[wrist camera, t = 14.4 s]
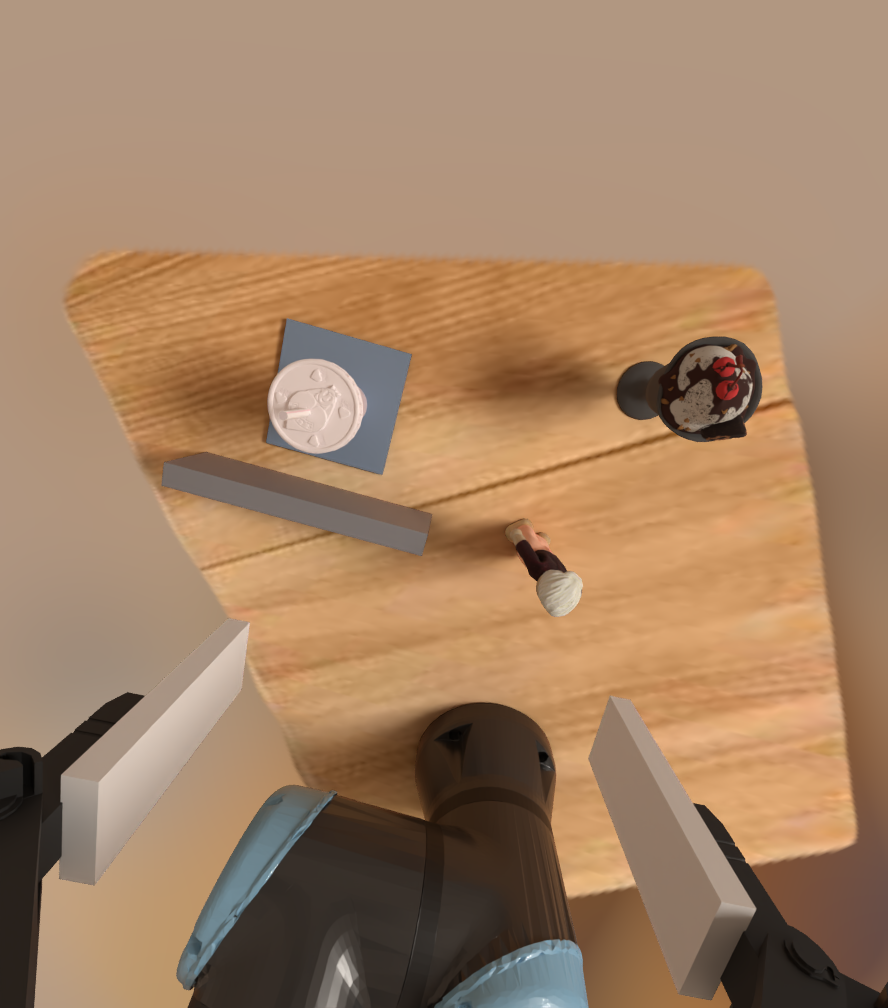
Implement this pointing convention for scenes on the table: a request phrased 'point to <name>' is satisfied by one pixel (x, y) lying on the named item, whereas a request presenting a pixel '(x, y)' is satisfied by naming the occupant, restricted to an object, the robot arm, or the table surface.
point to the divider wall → (299, 500)
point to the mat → (372, 373)
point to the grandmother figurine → (545, 569)
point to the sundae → (696, 390)
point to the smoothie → (315, 405)
